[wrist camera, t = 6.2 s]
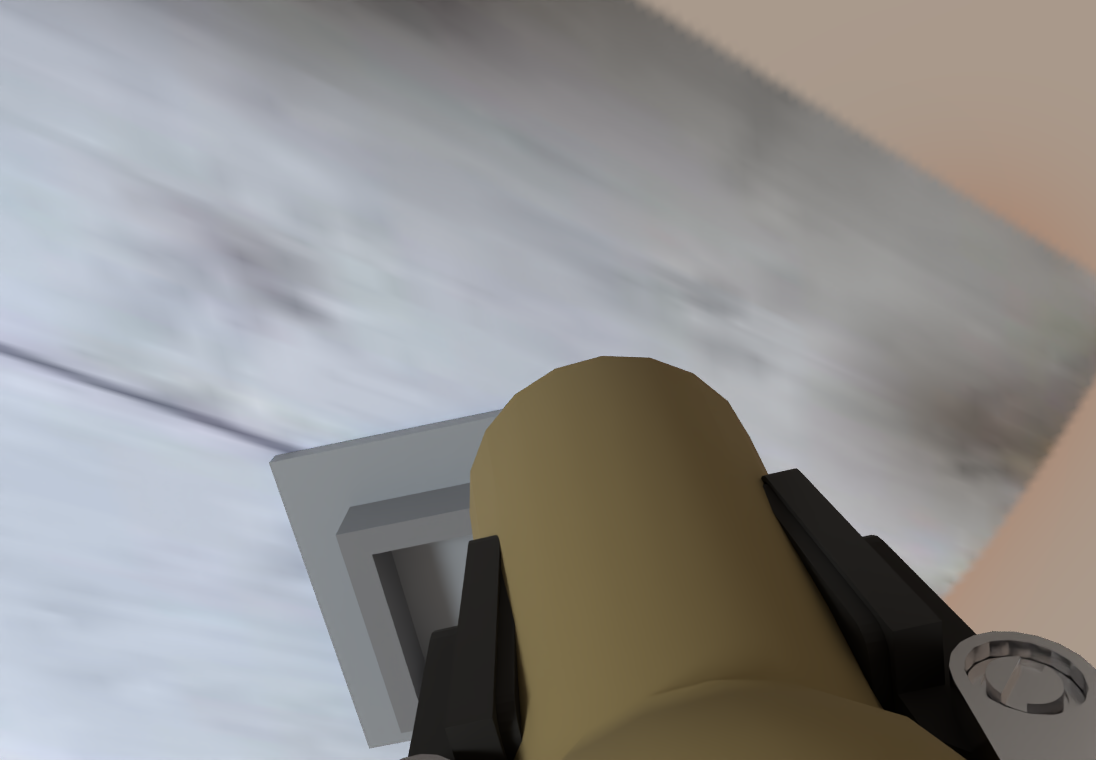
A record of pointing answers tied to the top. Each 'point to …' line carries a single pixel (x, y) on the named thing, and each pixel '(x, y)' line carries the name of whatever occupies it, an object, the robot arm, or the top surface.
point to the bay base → (385, 554)
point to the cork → (663, 583)
